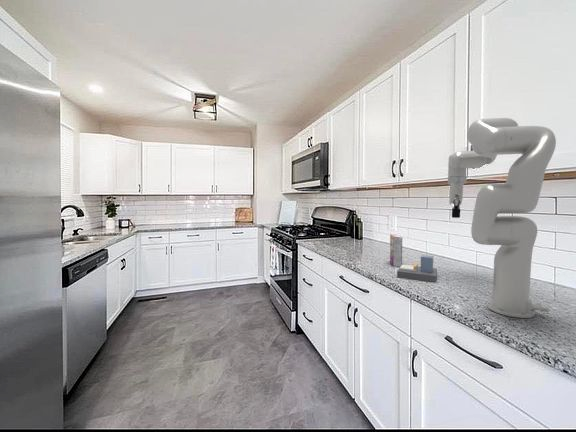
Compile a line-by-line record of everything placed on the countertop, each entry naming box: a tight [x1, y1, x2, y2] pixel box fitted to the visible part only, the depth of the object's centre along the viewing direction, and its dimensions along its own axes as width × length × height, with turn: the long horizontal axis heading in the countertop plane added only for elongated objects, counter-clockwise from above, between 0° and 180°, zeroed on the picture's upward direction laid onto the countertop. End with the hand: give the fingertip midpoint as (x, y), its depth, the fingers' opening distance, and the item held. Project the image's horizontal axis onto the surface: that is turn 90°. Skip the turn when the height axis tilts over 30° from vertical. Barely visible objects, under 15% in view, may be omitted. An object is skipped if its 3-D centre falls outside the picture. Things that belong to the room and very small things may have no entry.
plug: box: [420, 254, 434, 273], centre depth 129 cm, size 5×4×8 cm
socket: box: [396, 266, 438, 283], centre depth 132 cm, size 16×14×3 cm
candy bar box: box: [389, 233, 403, 268], centre depth 153 cm, size 11×5×16 cm, turn 168°
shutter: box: [399, 262, 419, 271], centre depth 134 cm, size 7×8×2 cm
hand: (455, 216), depth 131 cm, fingers open, 9 cm apart
